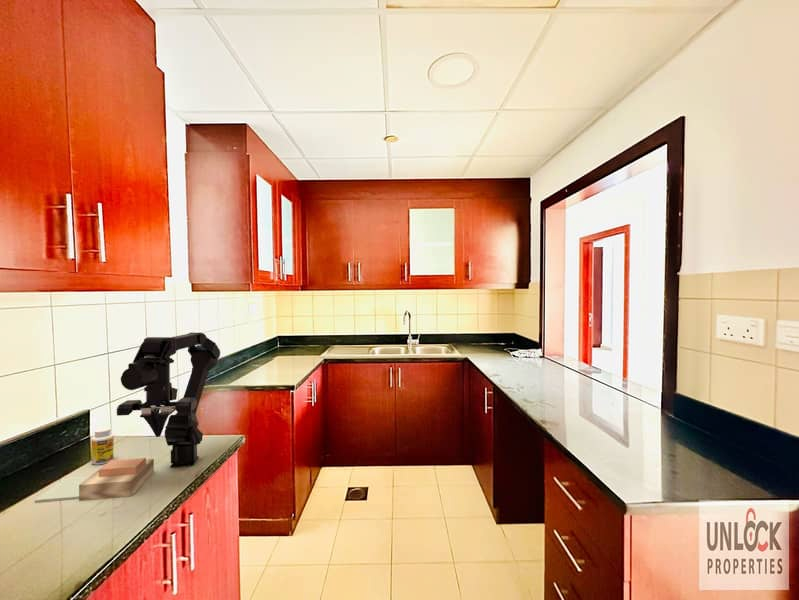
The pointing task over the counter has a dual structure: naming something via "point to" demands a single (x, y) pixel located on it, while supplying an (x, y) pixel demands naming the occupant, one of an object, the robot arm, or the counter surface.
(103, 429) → the supplement bottle
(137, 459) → the terracotta tile
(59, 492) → the sage mat
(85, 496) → the block
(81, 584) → the counter surface
